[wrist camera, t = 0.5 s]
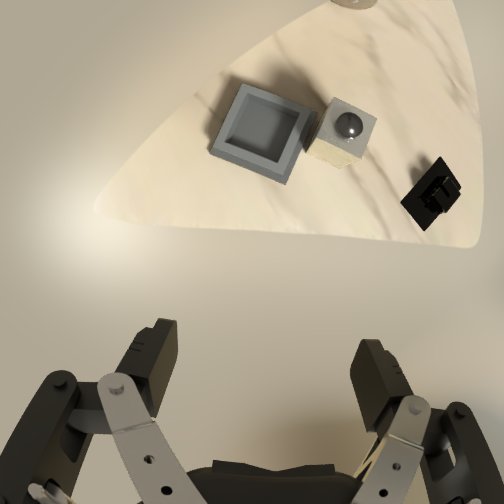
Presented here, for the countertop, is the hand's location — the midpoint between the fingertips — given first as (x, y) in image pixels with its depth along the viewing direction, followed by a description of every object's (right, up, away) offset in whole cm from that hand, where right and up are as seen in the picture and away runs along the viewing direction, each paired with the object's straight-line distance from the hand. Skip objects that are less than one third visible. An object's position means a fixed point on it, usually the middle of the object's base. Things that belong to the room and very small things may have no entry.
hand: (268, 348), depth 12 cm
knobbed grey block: (+9, +17, +22) cm, 29 cm away
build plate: (+24, +12, +22) cm, 35 cm away
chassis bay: (+1, +19, +22) cm, 29 cm away
